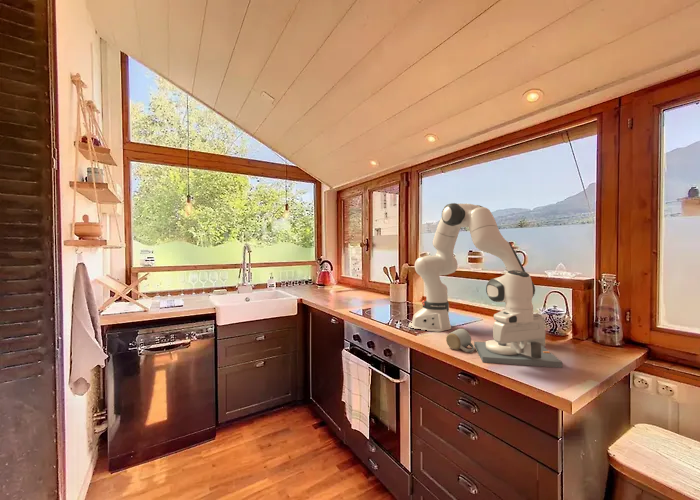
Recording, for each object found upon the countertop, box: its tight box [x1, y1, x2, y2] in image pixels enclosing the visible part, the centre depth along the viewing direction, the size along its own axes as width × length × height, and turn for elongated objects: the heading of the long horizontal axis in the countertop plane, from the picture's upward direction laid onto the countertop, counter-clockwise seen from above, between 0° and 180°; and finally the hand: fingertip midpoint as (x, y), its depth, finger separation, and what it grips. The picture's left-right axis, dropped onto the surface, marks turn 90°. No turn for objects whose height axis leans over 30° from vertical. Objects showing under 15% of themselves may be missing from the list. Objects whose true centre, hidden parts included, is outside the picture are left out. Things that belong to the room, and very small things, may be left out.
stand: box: [473, 341, 563, 368], centre depth 114 cm, size 26×18×2 cm
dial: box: [485, 339, 541, 358], centre depth 111 cm, size 20×12×6 cm, turn 32°
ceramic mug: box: [445, 328, 475, 353], centre depth 123 cm, size 11×8×8 cm
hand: (520, 352), depth 106 cm, fingers closed
